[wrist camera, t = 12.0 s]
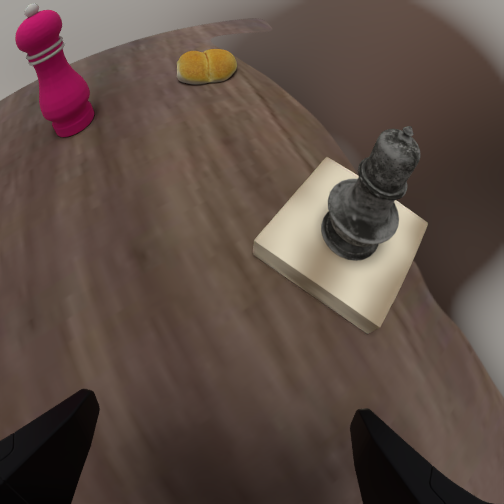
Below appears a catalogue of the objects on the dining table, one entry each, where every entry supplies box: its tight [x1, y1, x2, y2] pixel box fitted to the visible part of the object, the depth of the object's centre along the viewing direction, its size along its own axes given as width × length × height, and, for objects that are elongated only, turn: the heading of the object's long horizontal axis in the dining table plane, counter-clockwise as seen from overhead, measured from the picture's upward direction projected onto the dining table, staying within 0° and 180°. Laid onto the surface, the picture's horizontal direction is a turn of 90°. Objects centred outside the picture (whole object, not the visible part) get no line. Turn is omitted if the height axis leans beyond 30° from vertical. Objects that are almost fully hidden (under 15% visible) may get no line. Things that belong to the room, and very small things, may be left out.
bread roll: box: [177, 49, 237, 85], centre depth 38 cm, size 8×9×4 cm
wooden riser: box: [253, 157, 428, 334], centre depth 26 cm, size 12×12×2 cm
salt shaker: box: [321, 126, 420, 261], centre depth 19 cm, size 6×6×12 cm
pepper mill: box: [16, 4, 94, 137], centre depth 25 cm, size 7×7×20 cm
